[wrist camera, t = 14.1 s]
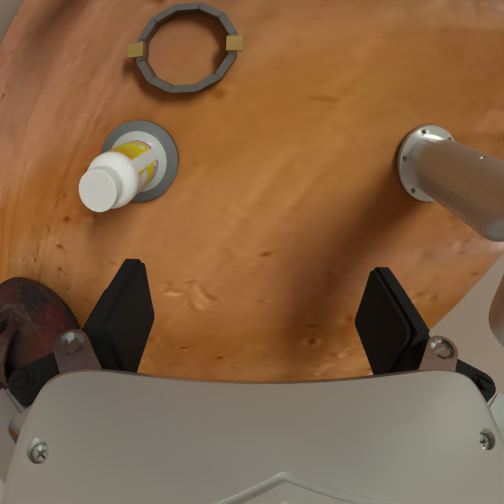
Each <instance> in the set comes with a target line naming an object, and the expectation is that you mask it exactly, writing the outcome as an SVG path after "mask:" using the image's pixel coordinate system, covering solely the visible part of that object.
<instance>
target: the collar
mask: <svg viewBox="0 0 504 504" xmlns="http://www.w3.org/2000/svg"><path fill="white" fill-rule="evenodd" d="M190 13H203V14H205V15H207V16H210V17H212V18H214V19H216V20H219V21H220V22H221V24H222V25H223V27H224V28H225V30H226V32H227V33H228V35H229V36H227V40H226V51H228V55H227V57H226V58H225V59H224V61H223V62H222V64H221V65H220V67H219V68H218V70H217V71H216V73H214V74H212V75H211V76H209V77H207V78H205V79H203V80H201V81H200V82H198V83H196V84H191V85H172V84H170V83H168V82H166V81H164V80H162V79H160V78H158V77H157V75H156V74H155V72H154V70H153V69H152V67H151V65H150V64H149V62H148V55H149V42H150V41H151V39H152V38H153V36H154V34H155V33H156V31H157V30H158V28H159V27H160V26H161V25H162V24H164V23H165V22H167V21H169V20H171V19H172V18H174V17H176V16H178V15H179V14H190ZM138 39H139V40H137V43H133V44H129V50H128V58H130V59H132V58H136V62H137V65H138V67H139V68H140V70H141V72H142V73H143V75H144V77H145V79H146V80H147V82H148V83H150V84H152V85H154V86H156V87H159V88H161V89H163V90H165V91H167V92H169V93H187V92H200V91H202V90H204V89H205V88H207V87H209V86H211V85H213V84H215V83H217V82H218V81H220V80H221V78H222V79H223V78H224V76H225V75H226V73H227V72H228V70H229V69H230V67H231V66H232V65H233V63H234V62H235V60H236V58H237V51H243V39H244V37H243V36H238V34H237V31H236V29H235V28H234V26H233V25H232V23H231V22H230V20H229V18H228V17H227V15H226V14H225V13H224V12H223V11H220V10H218V9H216V8H214V7H211V6H209V5H207V4H204V3H201V2H200V3H186V4H176V5H173V6H171V7H170V8H168V9H166V10H164V11H163V12H161V13H159V14H158V15H156V16H154V17H153V18H152V19H151V20H150V21H149V23H148V24H147V26H146V27H145V29H144V30H143V32H142V33H141V35H140V36H139V38H138Z"/></svg>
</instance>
